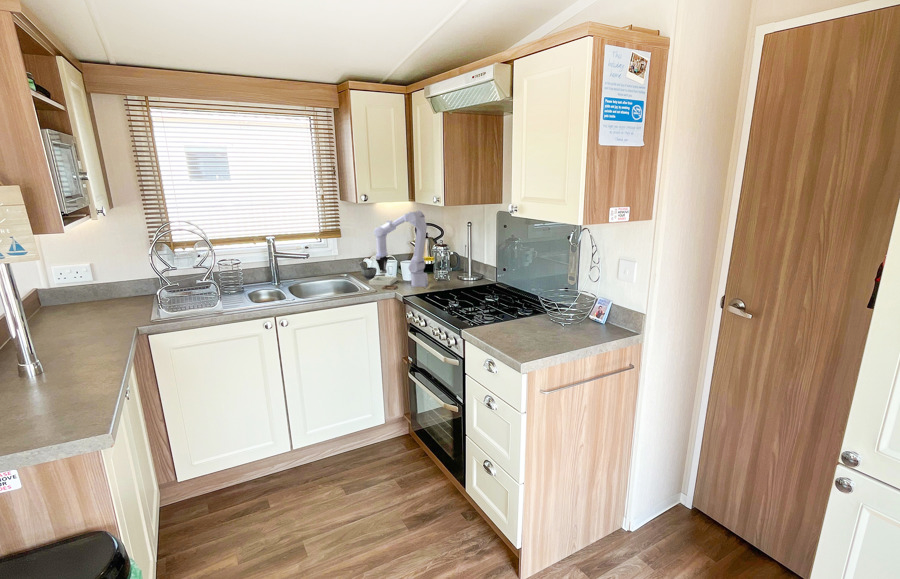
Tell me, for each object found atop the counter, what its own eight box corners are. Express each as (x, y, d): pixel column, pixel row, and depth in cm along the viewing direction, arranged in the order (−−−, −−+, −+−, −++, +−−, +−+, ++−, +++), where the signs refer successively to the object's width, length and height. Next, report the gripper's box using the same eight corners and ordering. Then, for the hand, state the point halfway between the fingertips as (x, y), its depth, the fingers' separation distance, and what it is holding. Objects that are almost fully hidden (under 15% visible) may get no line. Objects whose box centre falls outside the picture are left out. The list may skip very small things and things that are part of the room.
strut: (382, 271, 269) (382, 260, 268) (388, 272, 267) (387, 261, 266) (378, 273, 266) (378, 261, 264) (384, 273, 264) (383, 262, 262)
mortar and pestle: (375, 277, 290) (374, 259, 287) (378, 279, 282) (377, 261, 279) (358, 278, 286) (357, 260, 283) (361, 281, 277) (360, 262, 275)
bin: (397, 282, 273) (397, 276, 272) (390, 287, 261) (389, 281, 260) (377, 281, 276) (376, 276, 275) (369, 286, 263) (368, 280, 262)
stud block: (400, 288, 257) (400, 284, 256) (395, 292, 247) (395, 288, 247) (384, 288, 259) (384, 284, 258) (378, 292, 249) (378, 288, 249)
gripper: (379, 245, 271) (380, 267, 274) (370, 248, 257) (372, 271, 260) (390, 245, 269) (391, 267, 272) (382, 248, 255) (383, 271, 259)
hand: (382, 269), depth 266 cm, fingers closed on strut, 3 cm apart
